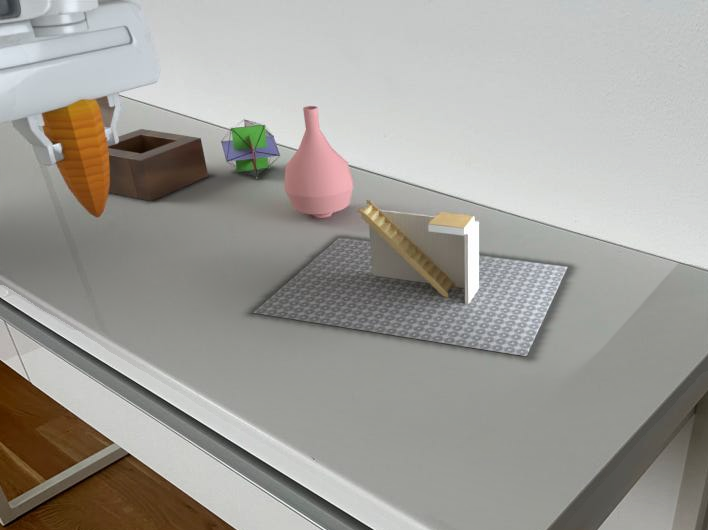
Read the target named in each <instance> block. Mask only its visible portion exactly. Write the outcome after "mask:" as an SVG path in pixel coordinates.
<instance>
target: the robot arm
mask: <svg viewBox="0 0 708 530" xmlns="http://www.w3.org/2000/svg"><path fill="white" fill-rule="evenodd" d="M142 10H143V9H142V5H141V0H0V125H2V124H5V123H10V122H11V123H12V127H13V128H14V129H15V130H16V131H17V132H18V133H19V134H20V135H21V136H22V137H23V138H24V139H25V140H26V141H27V142H28V143H29V144H30V145H32V148H33V151H34V155H35V158H36V160H37V162H38V163H39V164H40V165H42V166H47V167H51V166H55V165H56V164H57V163H60V162H63V161H65V156H64V154H63V153H62V151H63V149H62V145H61V142H55V141H51V140H49V139H48V138H47V137H46V135H45V134H44V131H42V129H41V128H43V127H42V126H44V121H43V117H42V114H41V113H44V112H48V111H52V110H56V109H59V108H63V107H66V106H68V105H70V104H73V103H75V102H77V101H79V100H82V99H86V100H93V99H94V100H96V102H97V103H98V105H99V108H100V111H101V116H102V120H103V125H104V130H105V135H106V140H107V146H108V147H109V146H112V145H115V144H118V143H119V138H118V137H119V134H118V129H117V125H118V120H119V116H120V112H121V110H122V109H121V108H122V101H121V97H120V96H121V95H120V93H125V92H128V91H131V90H135V89H139V88H142V87H147V86H150V85H153V84H156V83H157V82H158V81H159V77H160V73H161V65H160V61H159V57H158V53H157V49H156V45H155V42H154V39H153V36H152V33H151V30H150V27H149V24H148V22H147V19H146V17H145V14H144V12H143V11H142Z"/></svg>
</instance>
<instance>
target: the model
mask: <svg viewBox="0 0 708 530" xmlns="http://www.w3.org/2000/svg"><path fill="white" fill-rule="evenodd" d="M366 204H367V206H366V207H364V208H363V209H362V208H360V207H356V212H357V213H360V216H361V219H362V220H363V221H364V222H365V223H367V225H368V233H369V240H368V241H369V246H370V258H371V270H372V275H373V276H379V277H387V278H392V279H400V280H408V281H416V282H420V283H428V284H430V285H431V286H432V287H433V288H434V289H435V290H436V291H437V292H438V293H439V294H440V295H441V296H444V297H448V296H449V293H448V292H449V291H450V290H451V288H452V287H457V288H464V303H465V304H469V303H470V302H471V300H472V298H473V297H474V295H475V294H476V293H477V291H478V290H479V288H480V256H481V255H480V220H475V215H471V214H470V215H469V214H459V213H453V212H444V211H438V212H437V213H436V214H435V215H430V214H422V213H414V212H412V213H411V212H404V211H395V210H388V209H379V207H377V206H376V205H375V204H374V203H373V202H372V201H371V200H370V199H366Z"/></svg>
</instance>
